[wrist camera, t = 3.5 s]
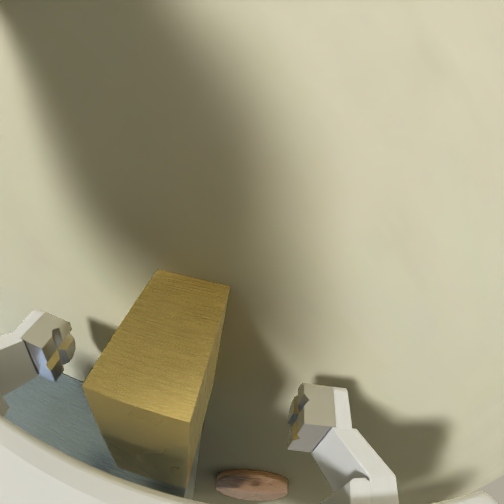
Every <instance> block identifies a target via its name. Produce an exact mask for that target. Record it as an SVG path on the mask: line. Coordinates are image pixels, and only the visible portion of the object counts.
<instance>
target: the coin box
mask: <svg viewBox="0 0 504 504" xmlns="http://www.w3.org/2000/svg"><path fill="white" fill-rule="evenodd" d="M82 385H83V382H81V381H78V380H76V379H74V378H71V377H69V376H67V375H65V374H63V373H62V374H61V375H60V377H59V378H58V380H57V381H56V383H55V382H53V381H51V380H49V379H47V378H45V377H42V376H40V375H38V376H37V377H35V378H33V379H32V380H30V381H28V382H26V383H25V384H23V385H21V386H20V387H18V388H16V389H14V390H13V391H11V392H9V393H7V394H6V395H4V396H3V398H4V399H5V401H6V402H7V404H8V406H9V409H8V411H7V412H6V414H5V415H4V418H6V419H7V420H9V421H10V422H12V423H13V424H15V425H16V426H18V427H20V428H21V429H23V430H24V431H26V432H28V433H29V434H31V435H32V436H34V437H36V438H38V439H39V440H41V441H43V442H45V443H46V444H48V445H50V446H52V447H54V448H55V449H57V450H59V451H61V452H63V453H65V454H67V455H69V456H71V457H73V458H75V459H77V460H79V461H81V462H84V463H86V464H88V465H90V466H92V467H95V468H97V469H99V470H102V471H104V472H106V473H109V474H111V475H114V476H117V477H119V478H122V479H124V480H127V481H130V482H133V483H136V484H139V485H142V486H145V487H148V488H151V489H154V490H157V491H161V492H164V493H168V494H171V495H175V496H179V497H182V498H186V499H191V500H193V496H194V489H195V480H196V472H197V464H198V457H199V449H200V441H201V434H202V430H201V434H200V438H199V442H198V446H197V449H196V453H195V457H194V461H193V465H192V469H191V473H190V477H189V481H188V485H187V489H186V488H182V487H178V486H174V485H171V484H167V483H164V482H160V481H157V480H154V479H150V478H147V477H144V476H141V475H138V474H135V473H132V472H130V471H127V470H124V469H121V468H119V467H117V465H116V463H115V461H114V459H113V457H112V455H111V453H110V451H109V449H108V447H107V445H106V443H105V441H104V439H103V436H102V434H101V432H100V430H99V427H98V425H97V423H96V421H95V418H94V416H93V413H92V411H91V408H90V406H89V403H88V401H87V398H86V396H85V393H84V390H83V388H82Z"/></svg>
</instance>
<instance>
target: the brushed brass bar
mask: <svg viewBox="0 0 504 504" xmlns="http://www.w3.org/2000/svg"><path fill="white" fill-rule="evenodd" d="M229 290H230V286H227V285H223V284H218V283H214V282H210V281H205V280H201V279H196V278H192V277H188V276H184V275H179V274H175V273H171V272H167V271H163V270H159V269H158V270H157V271H156V273H155V274H154V276H153V277H152V278H151V280H150V281H149V283H148V284H147V286H146V287H145V289H144V290H143V291H142V293H141V294H140V296H139V297H138V299H137V300H136V302H135V303H134V305H133V306H132V308H131V309H130V311H129V312H128V314H127V315H126V317H125V318H124V320H123V321H122V323H121V324H120V326H119V327H118V329H117V330H116V332H115V333H114V335H113V337H112V338H111V340H110V341H109V343H108V344H107V346H106V347H105V349H104V351H103V352H102V354H101V355H100V357H99V359H98V360H97V362H96V363H95V365H94V367H93V368H92V370H91V372H90V373H89V375H88V377H87V378H86V380H85V382H84V383H83V385H82V388H83V390H84V393H85V396H86V398H87V401H88V403H89V406H90V408H91V411H92V413H93V416H94V418H95V421H96V423H97V425H98V427H99V430H100V432H101V434H102V436H103V439H104V441H105V443H106V445H107V447H108V449H109V451H110V453H111V455H112V457H113V459H114V461H115V463H116V465H117V467H119V468H121V469H124V470H127V471H130V472H132V473H135V474H138V475H141V476H144V477H147V478H150V479H154V480H157V481H160V482H164V483H167V484H171V485H174V486H178V487H182V488H186V489H187V485H188V481H189V477H190V473H191V469H192V465H193V461H194V457H195V453H196V449H197V446H198V442H199V438H200V434H201V430H202V426H203V422H204V418H205V414H206V410H207V406H208V403H209V399H210V395H211V391H212V387H213V383H214V377H215V371H216V365H217V359H218V354H219V348H220V342H221V336H222V330H223V324H224V319H225V313H226V307H227V301H228V296H229Z"/></svg>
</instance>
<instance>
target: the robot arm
mask: <svg viewBox="0 0 504 504" xmlns="http://www.w3.org/2000/svg"><path fill="white" fill-rule="evenodd" d="M71 330H72V328H71V325H70V322H67V321H65V320H63V319H61V318H58V317H56V316H54V315H52V314H49V313H47V312H45V311H42V310H40V309H35V310H33V311H32V312H31V313H30V314H29V315H28V316H27V317H26V319H25V320H24V321H23V322H22V323H21V324H20V325H19V326H18V327H17V328H16V329H15V331H14V332H13V333H12V334H11V333H6V334H4V335H1V336H0V504H209V503H204V502H199V501H195V500H191V499H186V498H182V497H179V496H175V495H171V494H168V493H164V492H161V491H157V490H154V489H151V488H148V487H145V486H142V485H139V484H136V483H133V482H130V481H127V480H124V479H122V478H119V477H117V476H114V475H111V474H109V473H106V472H104V471H102V470H99V469H97V468H95V467H92V466H90V465H88V464H86V463H84V462H81V461H79V460H77V459H75V458H73V457H71V456H69V455H67V454H65V453H63V452H61V451H59V450H57V449H55V448H54V447H52V446H50V445H48V444H46V443H45V442H43V441H41V440H39V439H38V438H36V437H34V436H32V435H31V434H29V433H28V432H26V431H24V430H23V429H21V428H20V427H18V426H16V425H15V424H13V423H12V422H10V421H9V420H7V419H6V418H4V415H5V414H6V412H7V411H8V409H9V406H8V404H7V402H6V401H5V399H4V398H3V396H4V395H6V394H7V393H9V392H11V391H13V390H14V389H16V388H18V387H20V386H21V385H23V384H25V383H26V382H28V381H30V380H32V379H33V378H35V377H37V376H38V375H40V376H42V377H45V378H47V379H49V380H51V381H53V382H55V383H56V381H57V380H58V378H59V377H60V375H61V374H62V372H63V371H64V366H63V365H64V364H66V363H68V362H70V360H71V359H72V357H73V355H74V352H75V340H74V338H73V336H72V335H71V334H70V332H71ZM288 422H289V424H290V425H291V429H290V430H289V432H288V441H287V450H295V451H303V452H312V453H311V454H312V456H313V458H314V459H315V461H316V463H317V464H318V466H319V468H320V470H321V471H322V473H323V475H324V476H325V478H326V480H327V481H328V483H329V485H330V486H331V488H332V490H333V491H334V493H333V494H332V495H331V496H329V497H328V498H326V499H325V500H324V501H322V502H321V503H320V504H399V499H398V491H397V483H396V476H395V474H394V473H393V472H392V471H391V470H390V468H389V467H388V466H387V465H386V464H385V463H384V461H383V460H382V459H381V458H380V457H379V455H378V454H377V453H376V452H375V451H374V449H373V448H372V447H371V446H370V445H369V443H368V442H367V441H366V440H365V439H364V437H363V436H362V435H361V434H360V433H359V431H358V430H357V429H353V428H352V421H351V413H350V405H349V398H348V391H347V389H346V388H339V387H331V386H323V385H315V384H307V383H302V384H301V385H300V387H299V388H298V395H297V396H295V397H294V399H293V401H292V403H291V406H290V410H289V419H288ZM431 504H499V503H497V502H496V501H495V500H494V499H493V498H492V497H491V496H490V495H488V494H487V493H486V492H484V491H478V492H474V493H470V494H467V495H463V496H460V497H456V498H452V499H448V500H444V501H440V502H436V503H431Z"/></svg>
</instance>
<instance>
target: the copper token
mask: <svg viewBox="0 0 504 504" xmlns="http://www.w3.org/2000/svg"><path fill="white" fill-rule="evenodd" d="M216 489H217V490H218V491H219V492H220V493H222V494H224V495H227V496H230V497H233V498H237V499H243V500H251V501H270V500H276V499H280V498H283V497H285V496H286V495H287V492H288V481H287V479H285V478H284V477H282V476H280V475H277V474H274V473H270V472H265V471H258V470H247V469H236V470H227V471H223V472H221V473H219V474H218V476H217V482H216Z"/></svg>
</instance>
